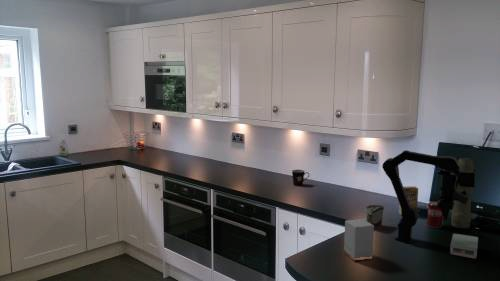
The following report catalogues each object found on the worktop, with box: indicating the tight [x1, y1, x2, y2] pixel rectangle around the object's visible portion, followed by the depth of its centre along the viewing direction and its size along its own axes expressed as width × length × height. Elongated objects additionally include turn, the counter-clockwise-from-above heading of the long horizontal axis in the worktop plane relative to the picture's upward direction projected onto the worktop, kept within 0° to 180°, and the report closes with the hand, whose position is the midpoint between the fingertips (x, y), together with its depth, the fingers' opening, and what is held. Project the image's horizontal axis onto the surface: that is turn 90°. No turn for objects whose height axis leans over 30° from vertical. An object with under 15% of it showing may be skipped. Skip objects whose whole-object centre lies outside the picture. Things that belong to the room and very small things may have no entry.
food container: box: [364, 204, 385, 229], centre depth 219 cm, size 12×6×10 cm, turn 134°
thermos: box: [450, 157, 477, 229], centre depth 218 cm, size 9×12×35 cm
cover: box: [450, 233, 479, 252], centre depth 188 cm, size 10×14×2 cm
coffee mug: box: [291, 169, 310, 187], centre depth 299 cm, size 12×9×10 cm
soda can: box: [426, 201, 444, 229], centre depth 219 cm, size 7×7×12 cm
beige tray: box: [449, 245, 478, 260], centre depth 189 cm, size 10×13×3 cm
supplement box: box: [343, 218, 375, 258], centre depth 182 cm, size 9×9×15 cm
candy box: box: [398, 186, 419, 216], centre depth 237 cm, size 9×4×15 cm, turn 92°
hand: (445, 219), depth 191 cm, fingers closed
